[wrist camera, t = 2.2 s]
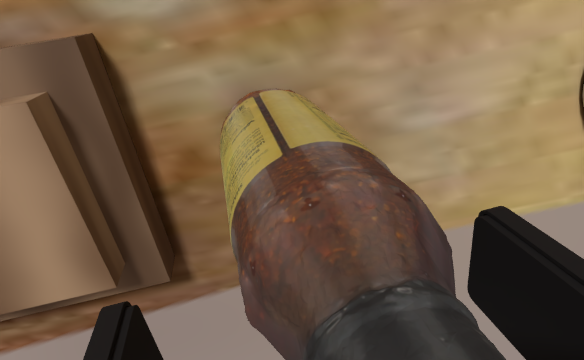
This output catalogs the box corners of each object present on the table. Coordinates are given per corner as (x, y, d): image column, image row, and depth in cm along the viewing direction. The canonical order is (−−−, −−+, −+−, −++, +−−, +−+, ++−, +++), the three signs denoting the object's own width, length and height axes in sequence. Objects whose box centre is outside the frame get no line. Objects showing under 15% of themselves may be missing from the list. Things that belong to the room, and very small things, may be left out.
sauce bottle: (242, 195, 23) (321, 800, 6) (201, 105, 20) (93, 773, 3) (337, 159, 23) (709, 638, 6) (310, 64, 20) (901, 442, 3)
